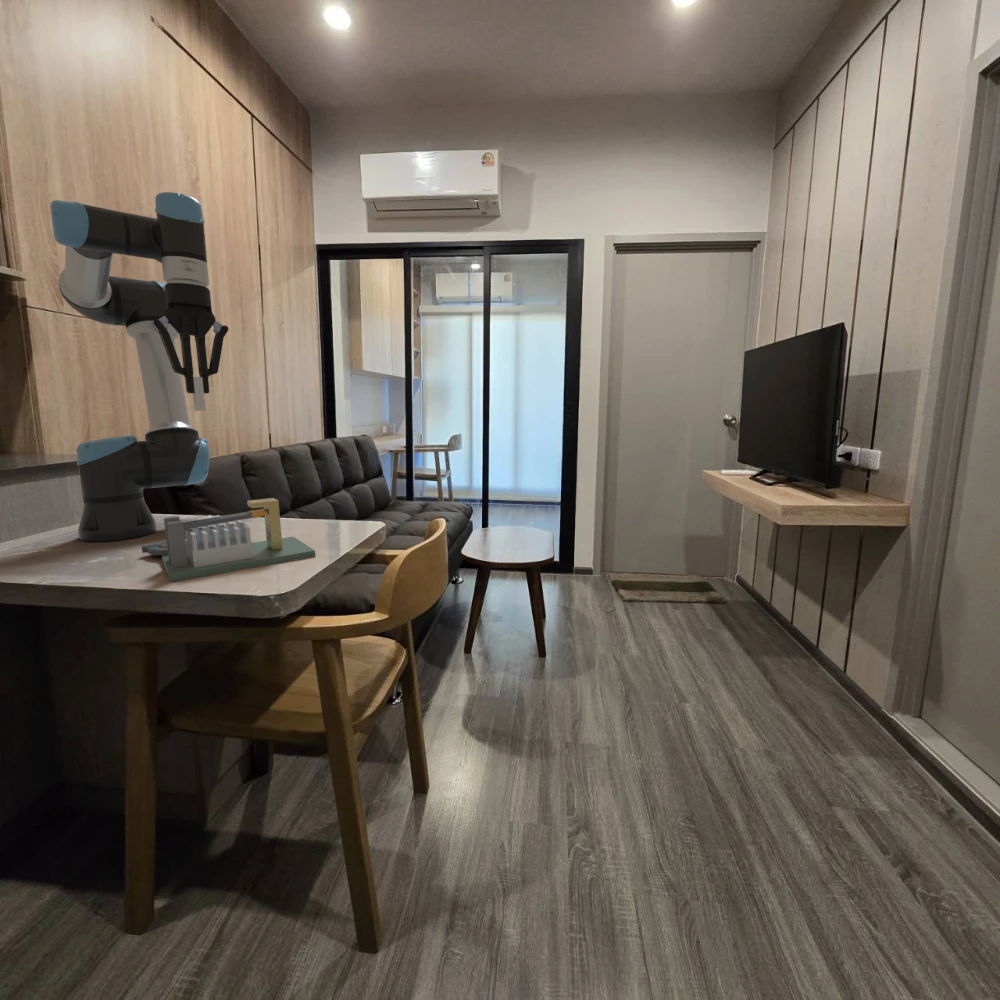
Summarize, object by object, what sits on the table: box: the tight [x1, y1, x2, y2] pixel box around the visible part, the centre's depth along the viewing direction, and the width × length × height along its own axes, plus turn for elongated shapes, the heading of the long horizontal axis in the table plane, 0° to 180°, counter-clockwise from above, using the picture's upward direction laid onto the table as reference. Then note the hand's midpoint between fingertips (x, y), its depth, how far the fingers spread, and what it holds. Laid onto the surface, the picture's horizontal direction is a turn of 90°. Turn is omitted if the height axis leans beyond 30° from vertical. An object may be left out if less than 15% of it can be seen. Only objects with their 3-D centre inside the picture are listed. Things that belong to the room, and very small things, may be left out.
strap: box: [183, 508, 268, 531], centre depth 100 cm, size 3×17×1 cm, turn 127°
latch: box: [247, 497, 283, 550], centre depth 105 cm, size 4×5×10 cm
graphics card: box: [141, 526, 217, 557], centre depth 111 cm, size 17×4×12 cm
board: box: [161, 515, 316, 582], centre depth 103 cm, size 15×25×10 cm, turn 127°
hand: (199, 410), depth 104 cm, fingers closed
